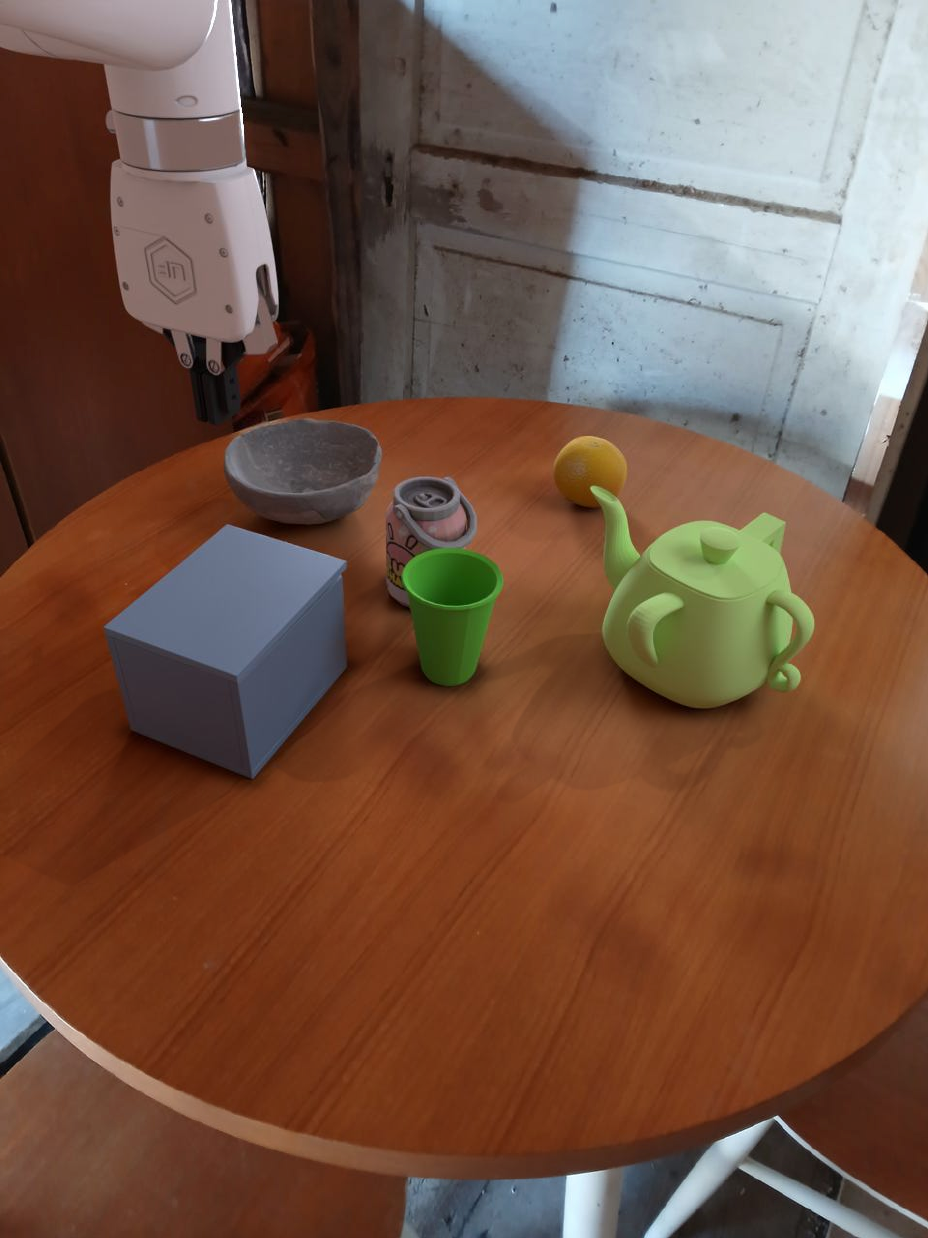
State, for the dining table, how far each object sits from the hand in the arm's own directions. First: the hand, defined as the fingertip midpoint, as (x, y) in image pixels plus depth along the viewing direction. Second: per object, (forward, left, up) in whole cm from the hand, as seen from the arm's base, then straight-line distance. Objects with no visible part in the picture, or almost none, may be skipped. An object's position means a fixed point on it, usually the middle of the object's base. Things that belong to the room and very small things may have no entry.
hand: (219, 415), depth 67 cm
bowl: (+28, +12, -27) cm, 41 cm away
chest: (-2, 0, -27) cm, 27 cm away
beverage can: (+20, -8, -27) cm, 35 cm away
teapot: (+23, -34, -27) cm, 49 cm away
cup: (+10, -15, -27) cm, 33 cm away
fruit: (+46, -17, -27) cm, 56 cm away
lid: (-2, 0, -16) cm, 16 cm away
